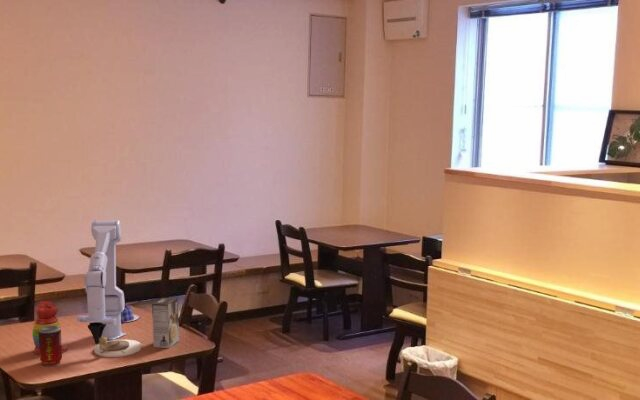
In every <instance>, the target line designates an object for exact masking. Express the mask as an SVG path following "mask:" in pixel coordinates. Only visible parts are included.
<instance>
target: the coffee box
mask: <svg viewBox="0 0 640 400" xmlns="http://www.w3.org/2000/svg"><path fill="white" fill-rule="evenodd" d="M178 299H179V298H177V297H174V298H173V297H161V298H160V299H158V300H156V301H154V302H153V303H152V304H151V309H152V310H151V311H152V313H151V314H152V338H153V340H152V341H153V348H160V349H161V348H163V349H170V348H172V347H173V346H174V345H176V343H178V342H179V341H180V327H179V325H180V324H179V323H180V322H179V300H178Z"/></svg>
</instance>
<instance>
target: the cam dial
mask: <svg viewBox="0 0 640 400" xmlns="http://www.w3.org/2000/svg"><path fill="white" fill-rule="evenodd" d="M115 340H116V341H112V340H109V341H110V342H107V341H108V339H107V337H100V338H99V349H101V350H109V351H116V350H122V349H126V348H128V347H129V342H127V341H122V340H123V339H115Z"/></svg>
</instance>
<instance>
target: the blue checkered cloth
mask: <svg viewBox="0 0 640 400" xmlns="http://www.w3.org/2000/svg"><path fill="white" fill-rule="evenodd" d="M139 318H140V316H139V315H138V314H134V313H133V309H132V307H131V306H129V305H125V307H124V310H123V312H121V323H130V322H133V321H136V320H138V319H139Z"/></svg>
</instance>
